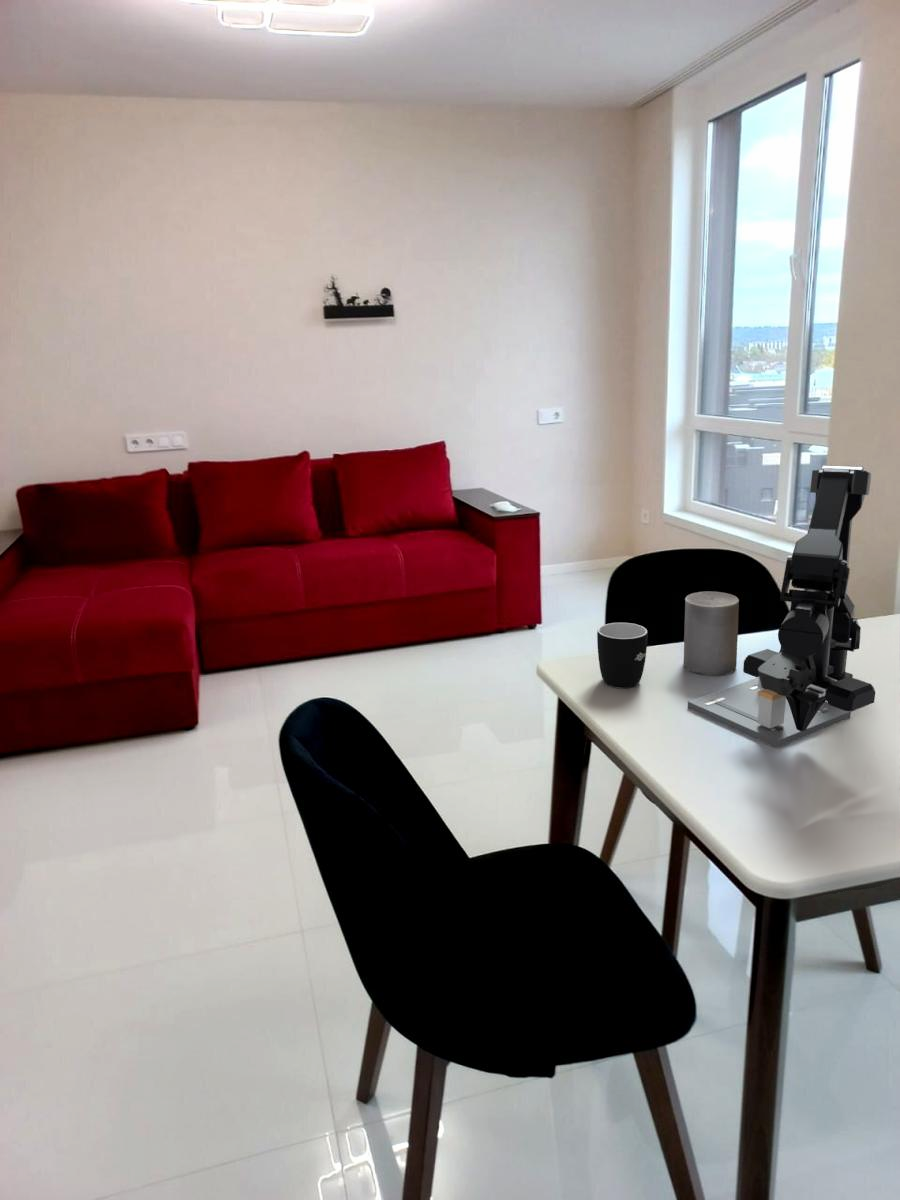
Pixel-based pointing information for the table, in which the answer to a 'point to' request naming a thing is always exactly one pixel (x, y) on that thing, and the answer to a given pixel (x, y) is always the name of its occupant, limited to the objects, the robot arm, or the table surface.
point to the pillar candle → (711, 633)
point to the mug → (622, 653)
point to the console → (742, 714)
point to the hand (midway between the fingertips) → (801, 730)
